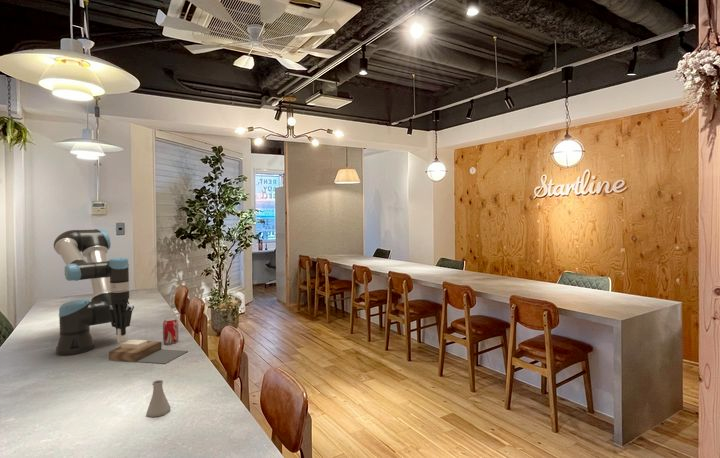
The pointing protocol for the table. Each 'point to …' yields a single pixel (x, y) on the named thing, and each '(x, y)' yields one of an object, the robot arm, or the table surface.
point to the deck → (134, 352)
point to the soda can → (170, 330)
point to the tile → (133, 344)
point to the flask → (158, 401)
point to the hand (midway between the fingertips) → (121, 342)
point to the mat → (162, 356)
